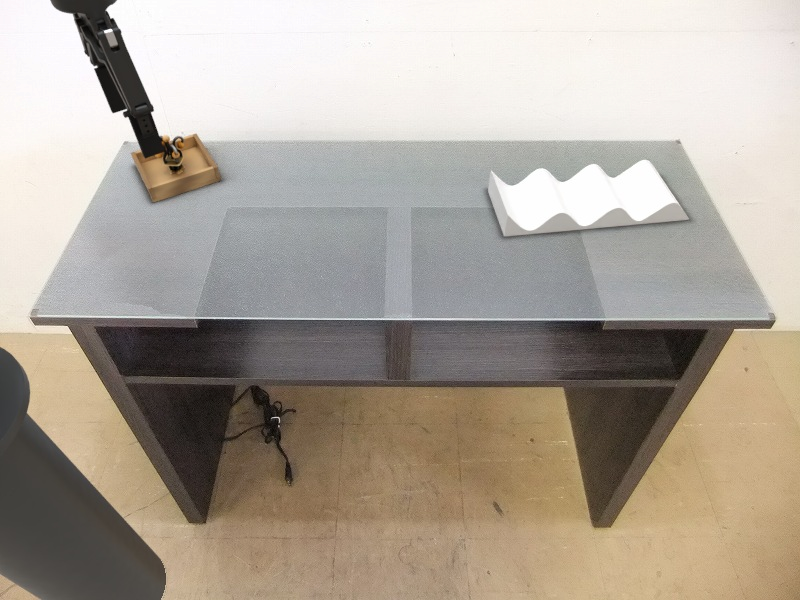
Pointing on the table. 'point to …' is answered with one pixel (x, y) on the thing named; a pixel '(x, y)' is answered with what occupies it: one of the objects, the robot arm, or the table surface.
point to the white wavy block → (583, 200)
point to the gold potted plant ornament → (172, 154)
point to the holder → (165, 184)
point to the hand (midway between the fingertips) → (137, 130)
